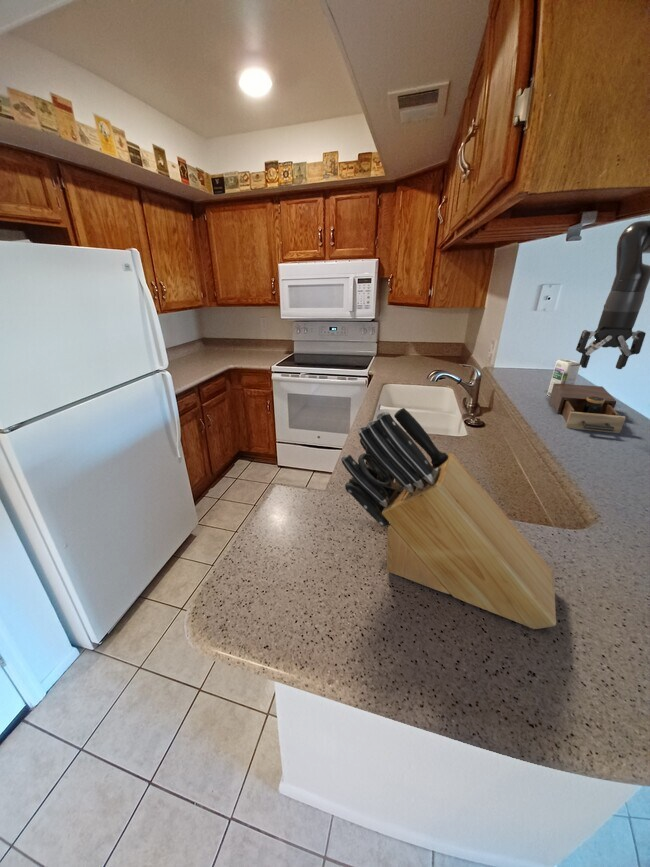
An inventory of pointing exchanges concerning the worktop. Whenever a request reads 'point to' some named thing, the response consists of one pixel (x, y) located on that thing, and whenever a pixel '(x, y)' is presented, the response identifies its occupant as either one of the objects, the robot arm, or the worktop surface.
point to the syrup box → (564, 373)
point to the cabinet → (577, 394)
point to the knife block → (446, 525)
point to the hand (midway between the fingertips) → (600, 367)
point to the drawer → (591, 417)
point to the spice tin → (593, 405)
